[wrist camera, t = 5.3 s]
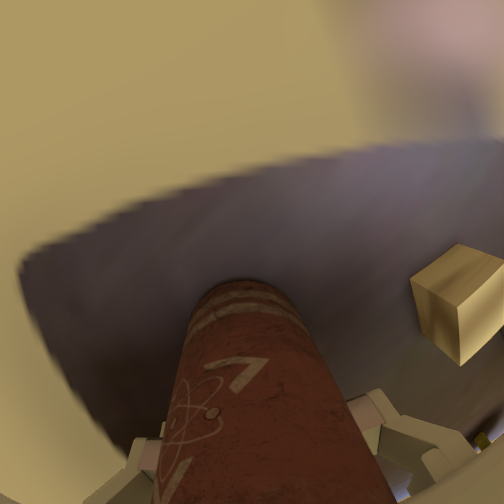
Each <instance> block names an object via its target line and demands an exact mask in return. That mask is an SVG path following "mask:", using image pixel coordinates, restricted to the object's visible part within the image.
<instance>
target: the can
mask: <svg viewBox="0 0 504 504" xmlns="http://www.w3.org/2000/svg"><path fill="white" fill-rule="evenodd" d="M151 504H397V501H396V499H395V497H394V495H393V493H392V491H391V489H390V487H389V485H388V483H387V481H386V479H385V477H384V475H383V473H382V471H381V469H380V468H379V466H378V464H377V462H376V460H375V458H374V456H373V454H372V452H371V450H370V448H369V446H368V444H367V442H366V440H365V438H364V436H363V434H362V433H361V431H360V429H359V427H358V425H357V423H356V421H355V419H354V417H353V415H352V413H351V411H350V410H349V408H348V406H347V404H346V402H345V400H344V398H343V396H342V394H341V392H340V391H339V389H338V387H337V385H336V383H335V381H334V379H333V377H332V375H331V373H330V372H329V370H328V368H327V366H326V364H325V362H324V360H323V358H322V357H321V355H320V353H319V351H318V349H317V347H316V345H315V343H314V342H313V340H312V338H311V336H310V334H309V332H308V330H307V329H306V327H305V325H304V323H303V321H302V319H301V317H300V316H299V314H298V312H297V310H296V308H295V306H294V305H293V304H292V303H291V301H290V300H289V299H288V298H287V297H286V296H285V294H284V293H282V292H281V291H279V290H277V289H275V288H274V287H272V286H270V285H269V284H264V283H260V282H255V281H251V280H249V281H236V282H230V283H227V284H225V285H222V286H220V287H217V288H214V289H213V290H212V291H210V292H209V293H208V294H207V295H206V296H204V297H203V298H202V299H201V300H200V301H199V303H198V304H197V306H196V307H195V309H194V311H193V312H192V314H191V318H190V322H189V326H188V330H187V334H186V337H185V341H184V345H183V349H182V354H181V358H180V362H179V366H178V370H177V374H176V379H175V383H174V387H173V392H172V396H171V401H170V405H169V410H168V414H167V419H166V424H165V429H164V433H163V438H162V443H161V448H160V454H159V459H158V464H157V470H156V475H155V481H154V486H153V492H152V498H151Z"/></svg>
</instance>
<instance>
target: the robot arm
mask: <svg viewBox="0 0 504 504" xmlns="http://www.w3.org/2000/svg"><path fill="white" fill-rule="evenodd" d="M345 402H346V404H347V406H348V408H349V410H350V411H351V413H352V415H353V417H354V419H355V421H356V423H357V425H358V427H359V429H360V431H361V433H362V434H363V436H364V438H365V440H366V442H367V444H368V446H369V448H370V450H371V452H372V454H373V455H375V454H378V455H379V456H381V457H383V458H384V459H386V460H388V461H390V462H392V463H394V464H396V465H398V466H399V467H401V468H403V469H405V470H407V471H409V472H411V473H413V474H414V475H413V477H412V480H411V482H410V484H409V486H408V488H407V490H408V492H409V494H410V495H411V497H410V498H407V499H406V500H403V501H401V502H400V503H397V504H504V433H503V434H502V435H501V436H500V437H499V438H497V439H496V440H495V441H494V442H493V443H492V444H490V445H489V446H488V447H487V448H485V449H484V450H483V451H482V452H480V453H479V454H477V453H476V451H475V450H474V449H473V448H472V446H471V445H470V444H469V443H468V442H467V440H466V439H465V438H464V437H463V436H462V434H461V433H460V432H459V431H455V430H452V429H448V428H445V427H441V426H438V425H434V424H431V423H428V422H425V421H421V420H418V419H415V418H412V417H409V416H406V415H403V416H400V415H399V414H398V412H397V411H396V409H395V408H394V407H393V405H392V404H391V403H390V401H389V400H388V398H387V397H386V396H385V394H384V393H383V392H382V390H381V389H379V388H378V389H375V390H373V391H370V392H368V393H366V394H362V395H360V396H357V397H354V398H352V399H349V400H346V401H345ZM162 438H163V437H148V438H135V439H134V441H133V444H132V447H131V451H130V454H129V457H128V461H127V464H126V468H125V470H123V469H122V470H121V471H119V472H118V473H117V474H116V475H115V476H114V477H112V478H111V479H110V480H109V481H108V482H107V483H105V484H104V485H103V486H102V487H100V488H99V489H98V490H97V491H96V492H94V493H93V494H92V495H91V496H89V497H88V498H87V499H86V500H84V501H83V504H151V498H152V492H153V486H154V481H155V475H156V470H157V464H158V459H159V454H160V448H161V443H162ZM0 504H20V503H18V502H16V501H14V500H12V499H10V498H8V497H6V496H5V495H3V494H1V493H0Z"/></svg>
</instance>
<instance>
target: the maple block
mask: <svg viewBox="0 0 504 504" xmlns="http://www.w3.org/2000/svg"><path fill="white" fill-rule="evenodd" d="M410 283H411V287H412V291H413V295H414V299H415V303H416V308H417V312H418V317H419V322H420V327H421V332H422V334H424V335H425V336H426V337H427V338H428V339H429V340H431V341H432V342H433V343H434V344H435V345H436V346H438V347H439V348H440V349H441V350H442V351H443V352H444V353H446V354H447V355H448V356H449V357H450V358H451V359H452V360H454V361H455V362H456V363H457V364H458V365H459V366H461V365H463V364H464V363H465V362H466V361H467V360H468V359H469V358H471V357H472V356H473V355H474V354H475V353H476V352H477V351H478V350H479V349H480V348H481V347H482V346H483V345H484V344H485V343H486V342H487V341H488V340H489V339H490V338H491V337H492V336H493V335H494V334H495V333H496V332H497V331H498V330H499V329H500V328H501V327H502V326H503V325H504V260H503V259H500V258H497V257H495V256H492V255H489V254H486V253H484V252H481V251H478V250H475V249H472V248H469V247H467V246H464V245H461V244H458V243H457V244H456V245H455V246H454V247H452V248H451V249H450V250H448V251H447V252H446V253H445V254H443V255H442V256H441V257H439V258H438V259H437V260H435V261H434V262H432V263H431V264H430V265H428V266H427V267H426V268H424V269H423V270H421V271H420V272H419V273H417V274H416V275H414V276H413V277H411V278H410Z"/></svg>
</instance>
